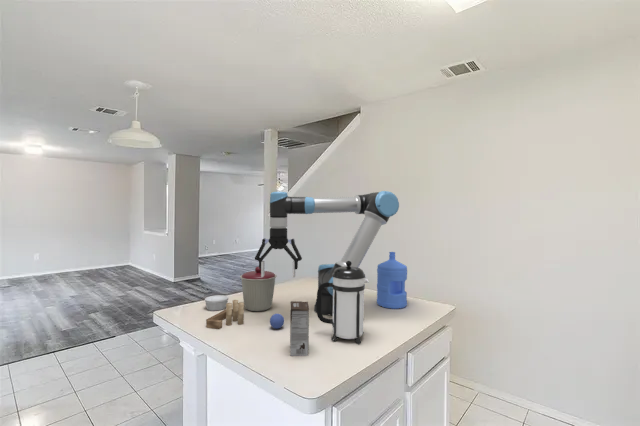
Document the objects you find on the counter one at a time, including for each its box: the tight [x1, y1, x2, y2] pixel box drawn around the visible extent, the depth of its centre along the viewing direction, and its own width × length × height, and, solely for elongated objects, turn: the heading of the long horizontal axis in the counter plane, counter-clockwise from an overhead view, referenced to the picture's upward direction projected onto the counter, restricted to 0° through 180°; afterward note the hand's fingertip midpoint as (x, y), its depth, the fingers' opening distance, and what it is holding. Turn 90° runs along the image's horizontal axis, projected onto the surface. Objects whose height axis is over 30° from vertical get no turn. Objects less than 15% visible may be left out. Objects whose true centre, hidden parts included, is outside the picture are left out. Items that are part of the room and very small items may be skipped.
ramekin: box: [204, 294, 229, 312], centre depth 159 cm, size 11×11×5 cm
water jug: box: [376, 251, 408, 310], centre depth 168 cm, size 16×16×28 cm
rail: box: [205, 309, 226, 330], centre depth 139 cm, size 7×17×3 cm, turn 164°
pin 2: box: [232, 299, 239, 323], centre depth 141 cm, size 2×2×9 cm
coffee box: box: [289, 300, 310, 357], centre depth 111 cm, size 9×6×16 cm
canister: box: [239, 266, 278, 312], centre depth 159 cm, size 18×18×21 cm
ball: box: [269, 313, 285, 330], centre depth 132 cm, size 6×6×6 cm
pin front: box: [237, 301, 245, 326], centre depth 137 cm, size 2×2×9 cm
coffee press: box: [316, 261, 370, 345], centre depth 123 cm, size 17×16×30 cm
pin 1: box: [225, 302, 233, 326], centre depth 136 cm, size 2×2×9 cm
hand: (278, 276), depth 137 cm, fingers open, 13 cm apart
